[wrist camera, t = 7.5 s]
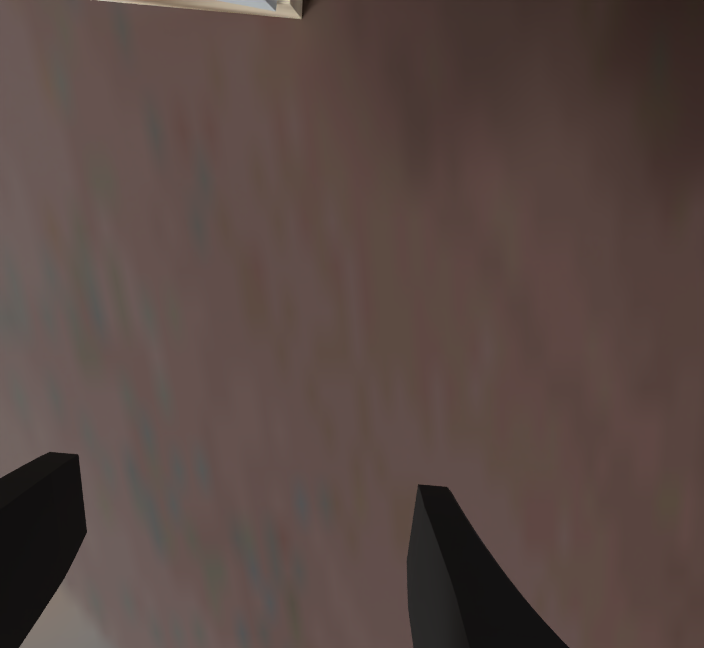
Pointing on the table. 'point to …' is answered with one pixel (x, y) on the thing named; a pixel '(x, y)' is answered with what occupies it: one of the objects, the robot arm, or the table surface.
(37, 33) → the table surface
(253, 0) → the grey-blue slab
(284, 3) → the birch slab
